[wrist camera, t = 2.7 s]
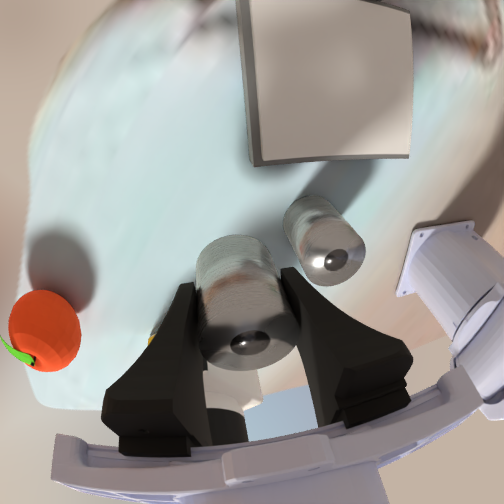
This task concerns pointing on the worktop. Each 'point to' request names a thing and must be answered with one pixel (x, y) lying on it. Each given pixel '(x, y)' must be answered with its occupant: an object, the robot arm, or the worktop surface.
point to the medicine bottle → (228, 401)
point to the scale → (326, 80)
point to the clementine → (44, 331)
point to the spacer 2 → (323, 241)
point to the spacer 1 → (242, 306)
